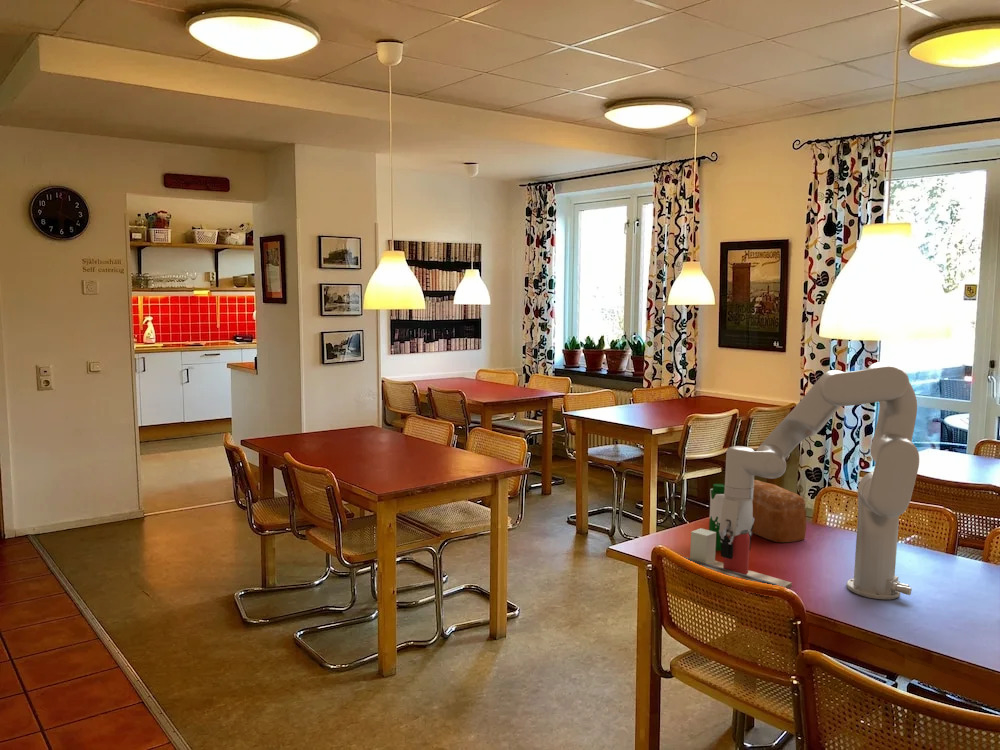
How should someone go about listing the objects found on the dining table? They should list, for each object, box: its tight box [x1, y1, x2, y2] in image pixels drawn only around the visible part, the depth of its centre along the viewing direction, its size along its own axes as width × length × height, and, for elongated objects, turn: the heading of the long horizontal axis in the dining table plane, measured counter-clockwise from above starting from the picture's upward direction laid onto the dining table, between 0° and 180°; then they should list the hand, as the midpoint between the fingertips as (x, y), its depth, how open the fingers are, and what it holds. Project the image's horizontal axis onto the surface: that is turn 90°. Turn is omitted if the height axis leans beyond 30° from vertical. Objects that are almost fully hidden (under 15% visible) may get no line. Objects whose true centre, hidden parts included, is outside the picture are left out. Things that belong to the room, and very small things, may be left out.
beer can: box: [723, 530, 751, 575], centre depth 208 cm, size 7×7×12 cm
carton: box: [689, 527, 716, 565], centre depth 215 cm, size 5×5×9 cm
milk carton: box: [708, 483, 725, 552], centre depth 229 cm, size 9×9×20 cm
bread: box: [751, 479, 807, 543], centre depth 251 cm, size 14×26×16 cm, turn 22°
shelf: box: [683, 556, 793, 589], centre depth 208 cm, size 28×10×3 cm, turn 44°
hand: (735, 553), depth 208 cm, fingers open, 9 cm apart
